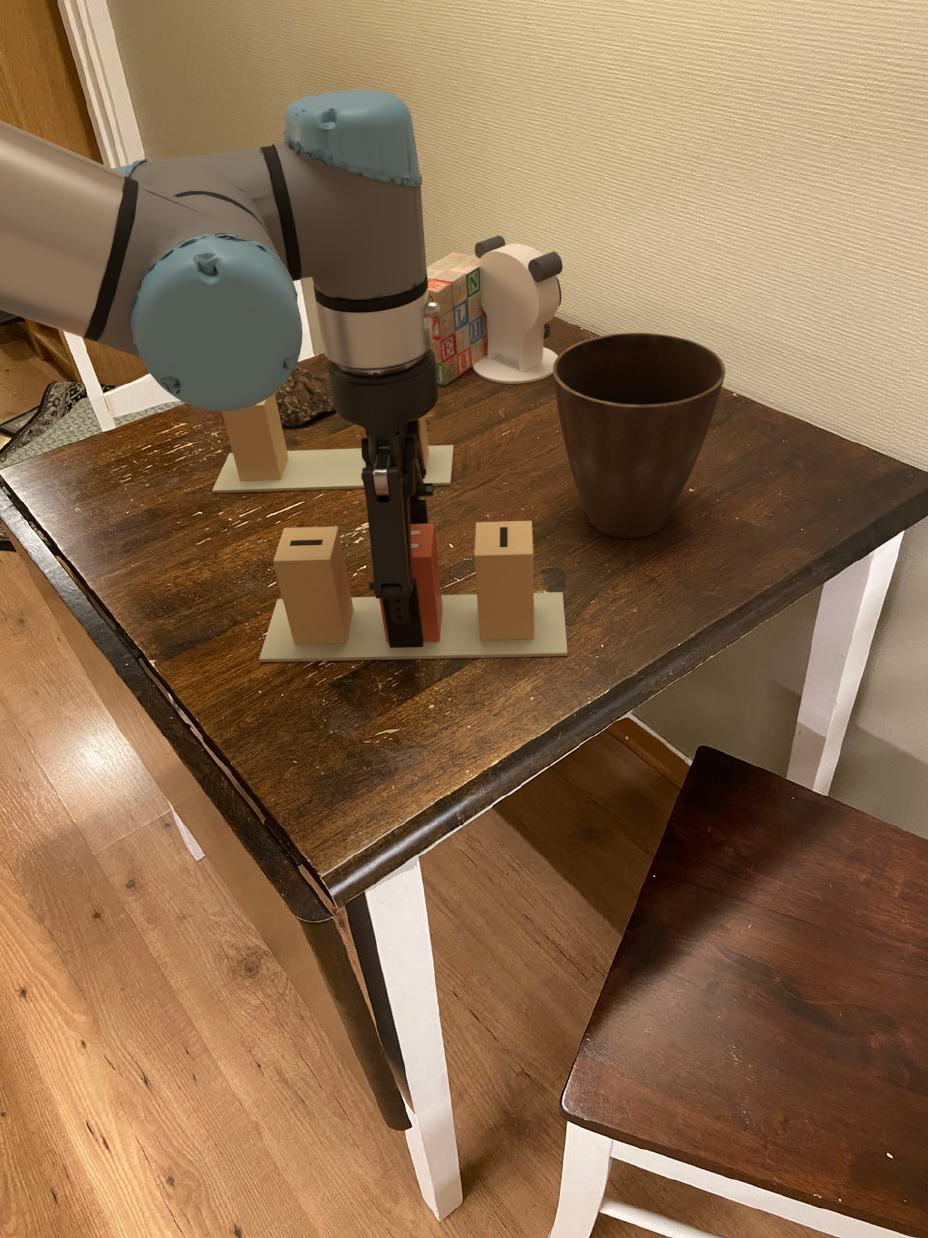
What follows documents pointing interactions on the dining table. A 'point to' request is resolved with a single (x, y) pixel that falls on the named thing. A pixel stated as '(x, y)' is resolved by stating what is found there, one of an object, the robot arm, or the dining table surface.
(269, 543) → the dining table surface
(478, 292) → the stack of blocks
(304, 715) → the dining table surface
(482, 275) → the panda figurine
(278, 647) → the front word
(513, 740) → the dining table surface
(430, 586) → the equals sign block
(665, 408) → the flower pot
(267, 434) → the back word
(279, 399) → the bread roll
